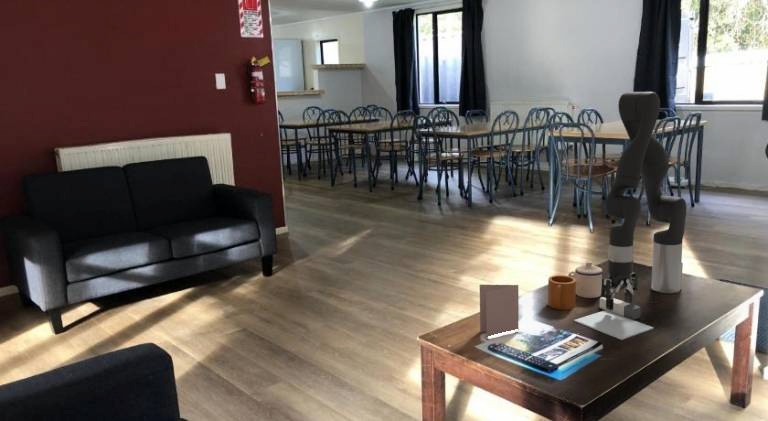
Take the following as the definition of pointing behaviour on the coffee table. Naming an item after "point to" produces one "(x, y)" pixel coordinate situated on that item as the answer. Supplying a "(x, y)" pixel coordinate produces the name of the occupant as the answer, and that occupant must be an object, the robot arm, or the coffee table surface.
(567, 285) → the mug
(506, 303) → the greeting card
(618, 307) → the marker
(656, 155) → the robot arm
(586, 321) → the paper pad
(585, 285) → the teacup with lid
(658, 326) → the coffee table surface
